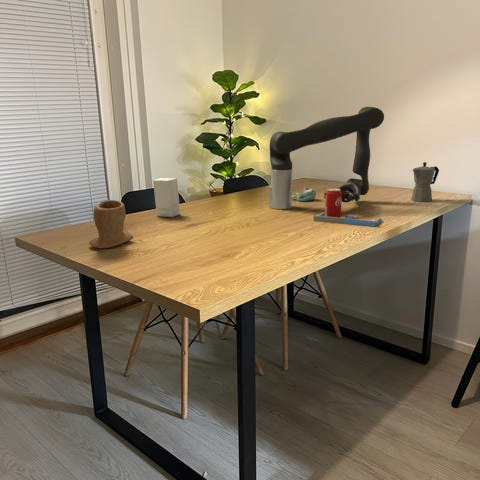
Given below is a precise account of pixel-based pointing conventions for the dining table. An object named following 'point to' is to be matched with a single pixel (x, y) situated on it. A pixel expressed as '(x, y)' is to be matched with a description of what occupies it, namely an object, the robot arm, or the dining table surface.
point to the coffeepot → (423, 183)
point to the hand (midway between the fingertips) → (337, 198)
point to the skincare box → (166, 197)
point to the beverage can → (333, 203)
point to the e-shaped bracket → (346, 220)
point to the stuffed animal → (305, 195)
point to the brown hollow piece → (110, 224)
